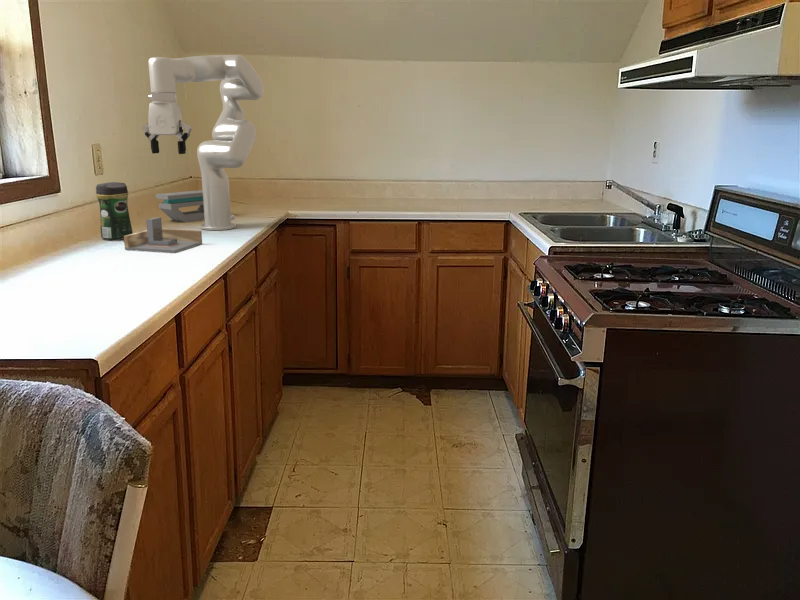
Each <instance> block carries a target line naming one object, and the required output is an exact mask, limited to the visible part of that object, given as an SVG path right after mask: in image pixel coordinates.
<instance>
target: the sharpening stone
mask: <svg viewBox="0 0 800 600" xmlns="http://www.w3.org/2000/svg"><path fill="white" fill-rule="evenodd" d="M155 198H156V199H158V200H163V201H162V202H158V208H159V209H160V210H161V211H162V212H163V213H164V214H165V215H166V216H168V218H170V219H171V220H172V221H175V222H181V223H190V222H199V221H203V220H204V205H203V190H202V189H198V190H189V191H187V190H185V191H178V192H177V191H176V192H166V193H155ZM197 206H198V207H197ZM189 207H197V209H196V210H189V211H181V210H180V209H179V208H189ZM204 221H205V220H204Z"/></svg>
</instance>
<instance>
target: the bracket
mask: <svg viewBox="0 0 800 600" xmlns="http://www.w3.org/2000/svg"><path fill="white" fill-rule="evenodd" d="M145 220H146V230H147V236H148V245H155V246H171V245H174V244H177V239H171V238H163V234H162V229H163V223H162V217H158V216H155V217H151V218H147V219H146V218H145Z"/></svg>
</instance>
